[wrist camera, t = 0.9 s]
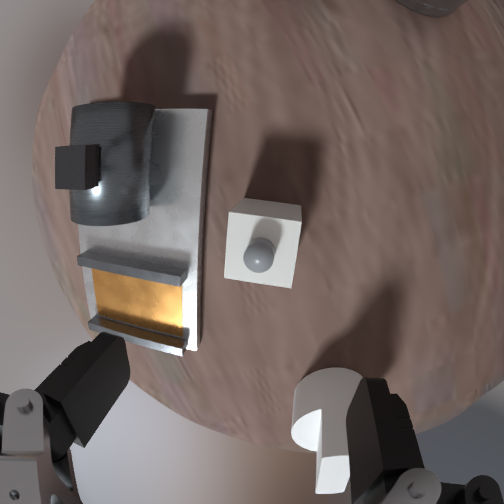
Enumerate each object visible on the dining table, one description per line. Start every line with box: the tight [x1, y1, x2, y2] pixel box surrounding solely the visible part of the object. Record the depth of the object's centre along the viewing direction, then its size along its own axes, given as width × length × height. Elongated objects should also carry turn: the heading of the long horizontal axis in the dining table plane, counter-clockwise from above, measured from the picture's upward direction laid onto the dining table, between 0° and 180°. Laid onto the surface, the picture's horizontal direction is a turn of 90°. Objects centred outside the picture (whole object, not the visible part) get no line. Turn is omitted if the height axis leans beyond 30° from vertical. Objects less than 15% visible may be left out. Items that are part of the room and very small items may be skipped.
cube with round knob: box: [224, 198, 302, 288], centre depth 23 cm, size 5×5×8 cm
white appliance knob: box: [291, 367, 363, 494], centre depth 27 cm, size 9×9×12 cm
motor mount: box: [55, 102, 213, 356], centre depth 24 cm, size 24×14×10 cm, turn 175°
